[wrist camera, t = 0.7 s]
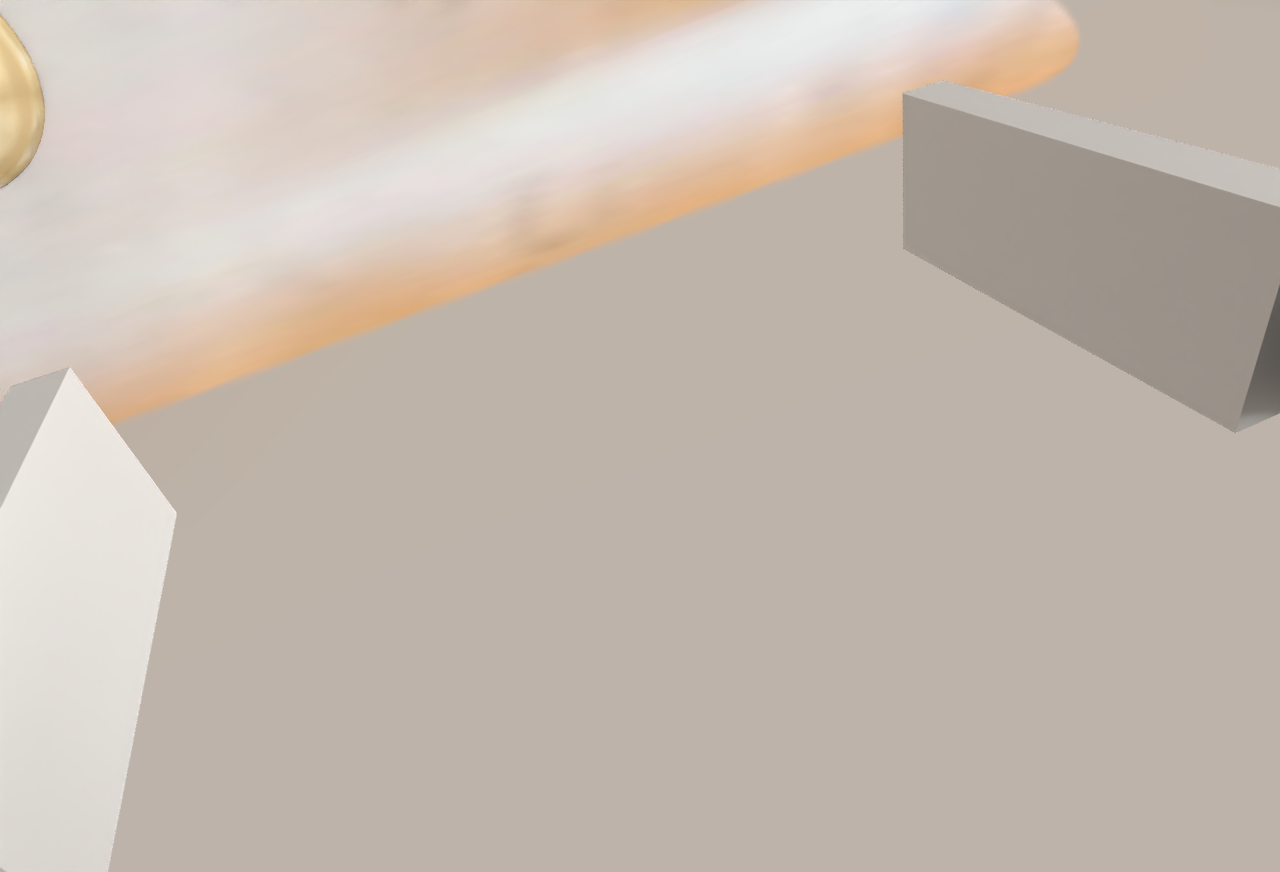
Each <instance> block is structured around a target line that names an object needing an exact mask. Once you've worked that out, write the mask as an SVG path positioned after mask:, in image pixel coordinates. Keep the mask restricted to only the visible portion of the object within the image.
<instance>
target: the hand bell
mask: <svg viewBox="0 0 1280 872" xmlns="http://www.w3.org/2000/svg"><path fill="white" fill-rule="evenodd" d="M44 121H45V109H44V99H43V93H42V88H41V85H40V81H39V78H38V75H37V72H36V69H35V67H34V65H33V63H32V60H31V58H30V56H29V54H28V52H27V51H26V49H25V47H24V46H23V44H22V43H21V41H20V40H19V38H18V36H17V35H16V33H15V32H14V30H13V29H12V28H11V27H10V25H9V24H8V23H7V21H6V20H5V19H4V18H3V17H2V16H1V15H0V188H2V187H4V186H5V185H7V184H8V183H10V182H11V181H12V180H13V179H15V178H16V177H17V176H18V175H19V174H20V173H21V172H22V171H23V170H24V169H25V168H26V167H27V166H28V164H29V163H30V162H31V160H32V159H33V157H34V155H35V154H36V151H37V149H38V147H39V144H40V142H41V138H42V134H43V128H44Z"/></svg>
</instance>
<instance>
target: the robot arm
mask: <svg viewBox="0 0 1280 872" xmlns="http://www.w3.org/2000/svg"><path fill="white" fill-rule="evenodd" d="M903 242H904V243H903V245H904V249H905V250H907V251H909V252H910V253H912V254H914V255H916V256H918V257H919V258H921V259H923V260H925V261H927V262H928V263H930V264H932V265H934V266H936V267H937V268H939V269H941V270H943V271H945V272H946V273H948V274H950V275H952V276H954V277H955V278H957V279H959V280H961V281H963V282H964V283H966V284H968V285H970V286H972V287H973V288H975V289H977V290H979V291H981V292H982V293H984V294H986V295H988V296H990V297H991V298H993V299H995V300H997V301H999V302H1000V303H1002V304H1004V305H1006V306H1008V307H1009V308H1011V309H1013V310H1015V311H1017V312H1018V313H1020V314H1022V315H1024V316H1026V317H1027V318H1029V319H1031V320H1033V321H1035V322H1036V323H1038V324H1040V325H1042V326H1044V327H1046V328H1047V329H1049V330H1051V331H1053V332H1055V333H1056V334H1058V335H1060V336H1062V337H1063V338H1065V339H1067V340H1069V341H1071V342H1072V343H1074V344H1076V345H1078V346H1080V347H1081V348H1083V349H1085V350H1087V351H1089V352H1090V353H1092V354H1094V355H1096V356H1098V357H1099V358H1101V359H1103V360H1105V361H1107V362H1108V363H1110V364H1112V365H1114V366H1116V367H1118V368H1119V369H1121V370H1123V371H1125V372H1126V373H1128V374H1130V375H1132V376H1134V377H1136V378H1137V379H1139V380H1141V381H1143V382H1144V383H1146V384H1148V385H1150V386H1152V387H1153V388H1155V389H1157V390H1159V391H1161V392H1162V393H1164V394H1166V395H1168V396H1170V397H1172V398H1173V399H1175V400H1177V401H1179V402H1180V403H1182V404H1184V405H1186V406H1188V407H1189V408H1191V409H1193V410H1195V411H1197V412H1198V413H1200V414H1202V415H1204V416H1206V417H1207V418H1209V419H1211V420H1213V421H1215V422H1217V423H1218V424H1220V425H1222V426H1224V427H1225V428H1227V429H1229V430H1231V431H1233V432H1234V433H1236V432H1238V431H1241V430H1243V429H1245V428H1247V427H1250V426H1252V425H1254V424H1257V423H1259V422H1261V421H1263V420H1266V419H1268V418H1270V417H1272V416H1275V415H1277V414H1279V413H1280V168H1276V167H1272V166H1268V165H1264V164H1261V163H1257V162H1253V161H1249V160H1245V159H1242V158H1238V157H1234V156H1230V155H1226V154H1223V153H1219V152H1215V151H1211V150H1207V149H1203V148H1199V147H1196V146H1192V145H1188V144H1184V143H1181V142H1177V141H1173V140H1169V139H1165V138H1162V137H1158V136H1154V135H1150V134H1146V133H1142V132H1139V131H1135V130H1131V129H1127V128H1123V127H1119V126H1116V125H1112V124H1108V123H1104V122H1101V121H1097V120H1093V119H1089V118H1085V117H1081V116H1077V115H1074V114H1070V113H1066V112H1062V111H1058V110H1055V109H1050V108H1047V107H1043V106H1040V105H1036V104H1032V103H1028V102H1024V101H1021V100H1017V99H1013V98H1009V97H1005V96H1001V95H998V94H994V93H990V92H986V91H982V90H979V89H975V88H971V87H967V86H963V85H960V84H956V83H952V82H948V81H944V80H942V81H939V82H936V83H933V84H930V85H927V86H924V87H921V88H918V89H915V90H912V91H908V92H905V93H903ZM176 516H177V513H176V512H175V510H174V509H173V508H172V506H171V505H170V503H169V502H168V501H167V499H166V498H165V497H164V495H163V494H162V493H161V491H160V490H159V489H158V487H157V486H156V484H155V483H154V482H153V480H152V479H151V477H150V476H149V475H148V473H147V472H146V471H145V469H144V468H143V467H142V465H141V464H140V462H139V461H138V460H137V458H136V457H135V456H134V455H133V453H132V451H131V450H130V449H129V447H128V446H127V445H126V443H125V442H124V441H123V439H122V438H121V436H120V435H119V434H118V432H117V431H116V430H115V428H114V427H113V426H112V424H111V423H110V421H109V420H108V419H107V417H106V416H105V415H104V413H103V412H102V411H101V409H100V408H99V406H98V405H97V404H96V402H95V401H94V400H93V398H92V397H91V395H90V394H89V393H88V391H87V390H86V389H85V387H84V386H83V385H82V383H81V382H80V380H79V379H78V378H77V376H76V375H75V374H74V372H73V371H72V370H71V368H70V367H68V368H65V369H62V370H59V371H56V372H53V373H50V374H47V375H44V376H41V377H38V378H35V379H32V380H29V381H26V382H23V383H19V384H16V385H13V386H11V387H10V389H9V391H8V392H7V394H6V396H5V397H4V399H3V401H2V402H1V404H0V872H108V868H109V863H110V858H111V853H112V847H113V842H114V837H115V832H116V827H117V822H118V817H119V811H120V806H121V801H122V796H123V790H124V785H125V780H126V775H127V769H128V764H129V759H130V754H131V749H132V744H133V739H134V734H135V728H136V723H137V718H138V713H139V707H140V702H141V697H142V692H143V687H144V682H145V676H146V671H147V666H148V661H149V656H150V651H151V645H152V640H153V635H154V630H155V624H156V619H157V614H158V609H159V604H160V599H161V593H162V588H163V583H164V578H165V572H166V567H167V562H168V557H169V552H170V547H171V542H172V536H173V531H174V526H175V520H176Z"/></svg>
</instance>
